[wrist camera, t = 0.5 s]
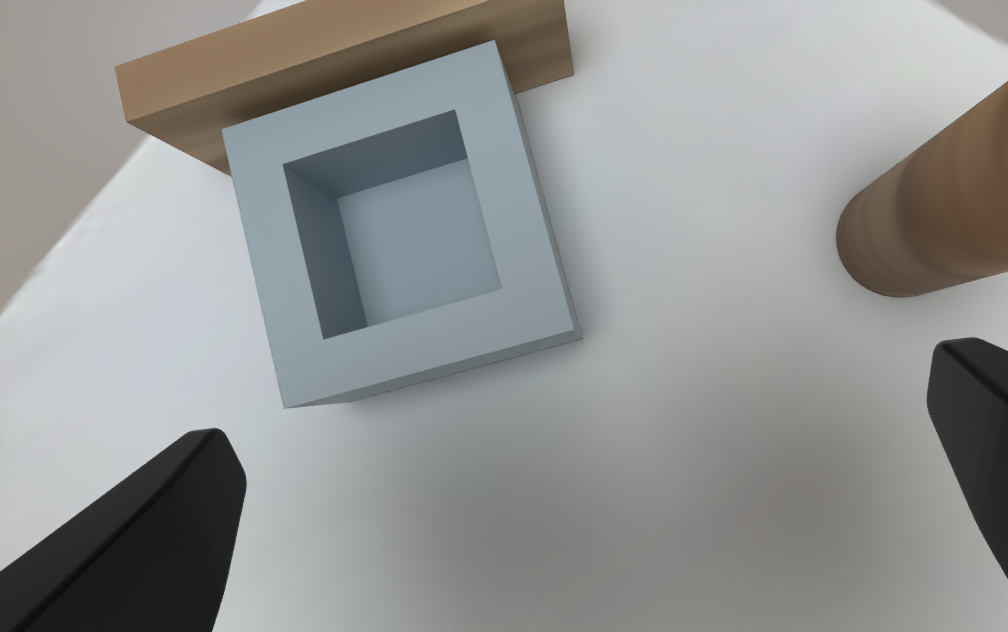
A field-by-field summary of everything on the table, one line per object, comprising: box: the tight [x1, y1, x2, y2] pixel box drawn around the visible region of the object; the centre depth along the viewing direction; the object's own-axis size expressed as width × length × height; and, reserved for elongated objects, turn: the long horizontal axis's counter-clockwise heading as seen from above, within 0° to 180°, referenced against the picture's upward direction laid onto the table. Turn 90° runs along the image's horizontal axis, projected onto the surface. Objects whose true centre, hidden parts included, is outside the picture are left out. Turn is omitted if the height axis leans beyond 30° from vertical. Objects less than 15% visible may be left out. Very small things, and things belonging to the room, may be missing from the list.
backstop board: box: [115, 0, 574, 177], centre depth 22 cm, size 2×12×6 cm, turn 105°
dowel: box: [836, 81, 1008, 297], centre depth 17 cm, size 4×4×10 cm
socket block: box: [221, 40, 583, 409], centre depth 22 cm, size 8×8×5 cm
